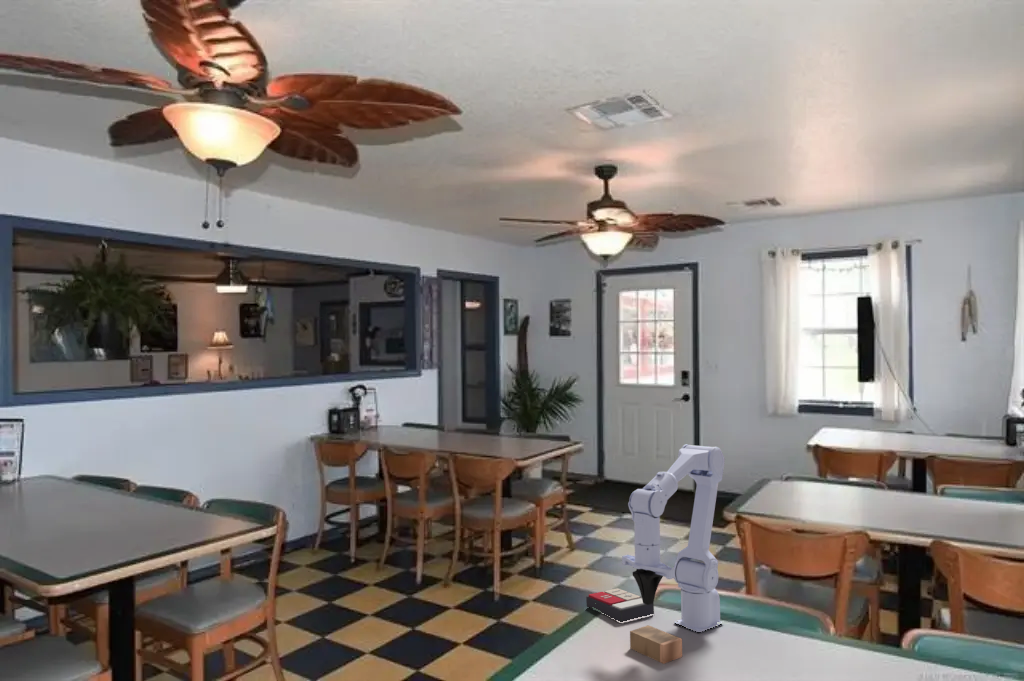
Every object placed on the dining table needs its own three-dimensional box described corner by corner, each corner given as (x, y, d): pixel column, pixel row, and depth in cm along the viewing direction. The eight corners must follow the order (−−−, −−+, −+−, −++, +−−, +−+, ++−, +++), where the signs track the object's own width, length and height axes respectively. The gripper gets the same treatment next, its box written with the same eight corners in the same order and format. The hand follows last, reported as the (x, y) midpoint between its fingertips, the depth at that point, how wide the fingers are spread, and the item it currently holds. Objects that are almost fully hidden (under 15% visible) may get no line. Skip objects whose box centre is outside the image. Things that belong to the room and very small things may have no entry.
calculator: (617, 586, 191) (654, 599, 178) (618, 602, 191) (655, 616, 178) (585, 593, 186) (620, 607, 173) (586, 610, 185) (621, 625, 172)
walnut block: (648, 625, 161) (681, 638, 153) (648, 642, 161) (682, 657, 153) (629, 631, 158) (663, 645, 150) (630, 649, 157) (663, 664, 149)
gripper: (612, 539, 161) (613, 598, 161) (659, 552, 149) (660, 616, 149) (633, 534, 165) (634, 592, 165) (681, 547, 154) (682, 609, 153)
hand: (648, 603), depth 157 cm, fingers closed
